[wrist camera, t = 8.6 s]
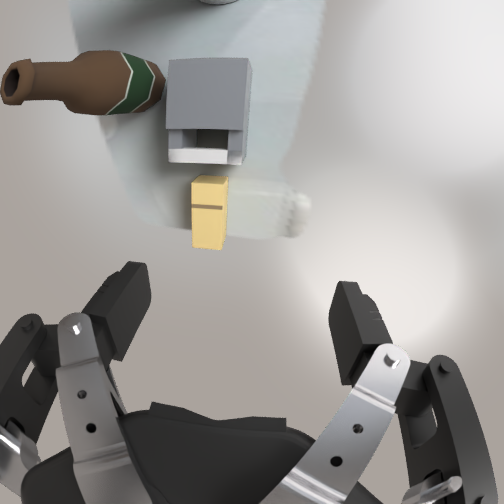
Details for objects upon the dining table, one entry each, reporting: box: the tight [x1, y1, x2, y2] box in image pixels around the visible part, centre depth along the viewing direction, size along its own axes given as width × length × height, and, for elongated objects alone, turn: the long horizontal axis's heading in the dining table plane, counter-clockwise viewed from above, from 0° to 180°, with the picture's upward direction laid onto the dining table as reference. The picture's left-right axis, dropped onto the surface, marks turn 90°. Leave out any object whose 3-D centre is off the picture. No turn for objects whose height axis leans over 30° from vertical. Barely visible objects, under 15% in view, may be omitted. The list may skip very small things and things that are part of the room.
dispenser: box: [166, 58, 252, 165], centre depth 29 cm, size 12×8×8 cm
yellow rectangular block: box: [191, 175, 228, 250], centre depth 37 cm, size 9×4×4 cm, turn 176°
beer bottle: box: [0, 50, 166, 115], centre depth 20 cm, size 8×8×24 cm
